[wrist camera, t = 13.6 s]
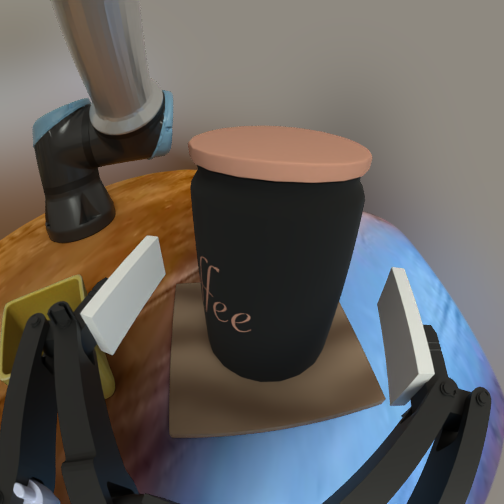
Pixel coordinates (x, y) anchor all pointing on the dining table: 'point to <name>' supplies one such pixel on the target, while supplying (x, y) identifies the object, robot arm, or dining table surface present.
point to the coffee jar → (274, 241)
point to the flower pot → (40, 301)
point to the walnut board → (260, 393)
